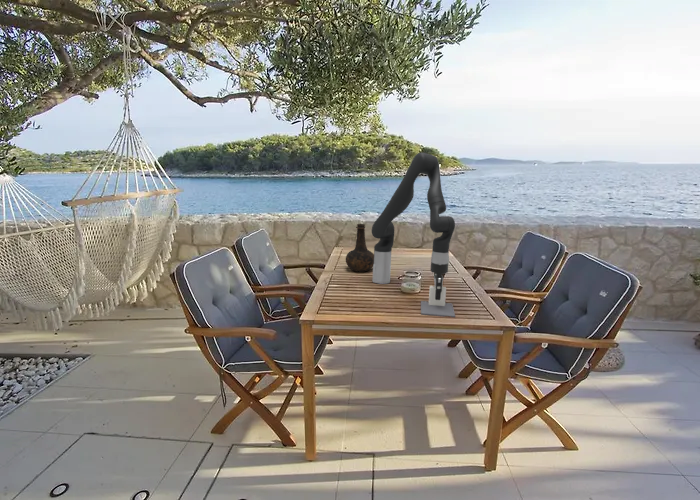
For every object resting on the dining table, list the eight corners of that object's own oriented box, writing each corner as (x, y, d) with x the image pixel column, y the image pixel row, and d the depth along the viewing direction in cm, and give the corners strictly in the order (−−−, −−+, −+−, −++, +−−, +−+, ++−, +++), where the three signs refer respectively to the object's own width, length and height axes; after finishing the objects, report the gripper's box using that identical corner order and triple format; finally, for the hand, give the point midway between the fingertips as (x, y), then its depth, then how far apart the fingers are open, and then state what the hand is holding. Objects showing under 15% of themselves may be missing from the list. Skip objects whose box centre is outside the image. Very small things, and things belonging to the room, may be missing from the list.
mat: (420, 314, 164) (420, 313, 163) (420, 302, 179) (420, 300, 179) (455, 317, 161) (455, 315, 161) (452, 304, 177) (452, 303, 177)
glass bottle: (376, 267, 241) (378, 222, 236) (373, 274, 224) (375, 226, 219) (348, 265, 244) (349, 221, 239) (342, 272, 227) (343, 225, 221)
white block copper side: (428, 304, 174) (430, 287, 172) (428, 302, 177) (429, 285, 176) (444, 306, 173) (446, 288, 171) (444, 303, 176) (445, 286, 174)
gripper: (430, 257, 178) (428, 291, 182) (431, 264, 165) (429, 301, 168) (447, 258, 177) (444, 292, 180) (449, 265, 163) (446, 302, 167)
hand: (437, 296), depth 174 cm, fingers open, 8 cm apart
